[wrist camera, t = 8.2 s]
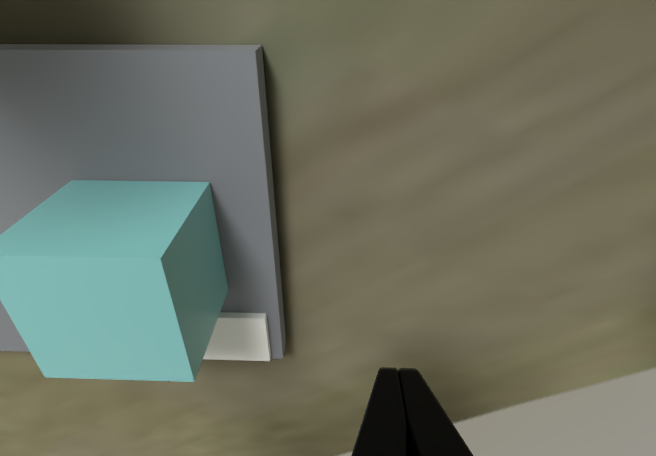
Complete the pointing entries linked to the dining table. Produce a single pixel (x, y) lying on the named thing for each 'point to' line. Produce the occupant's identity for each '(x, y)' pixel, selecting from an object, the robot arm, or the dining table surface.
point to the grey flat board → (153, 155)
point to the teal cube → (116, 279)
